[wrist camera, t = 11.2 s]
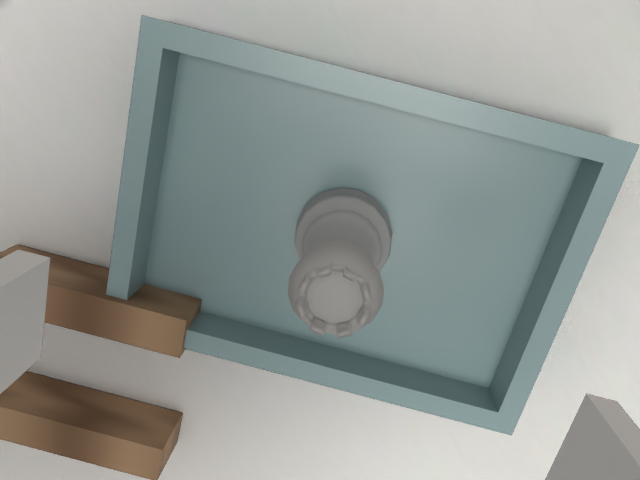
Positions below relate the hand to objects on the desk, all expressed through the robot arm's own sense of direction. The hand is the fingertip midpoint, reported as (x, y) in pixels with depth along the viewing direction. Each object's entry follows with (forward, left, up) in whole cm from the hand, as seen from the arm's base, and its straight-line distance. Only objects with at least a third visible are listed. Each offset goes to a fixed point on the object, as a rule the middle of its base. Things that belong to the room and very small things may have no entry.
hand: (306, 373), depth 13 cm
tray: (0, 0, -13) cm, 13 cm away
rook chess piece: (0, 0, -13) cm, 13 cm away
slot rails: (-11, -10, -13) cm, 19 cm away
